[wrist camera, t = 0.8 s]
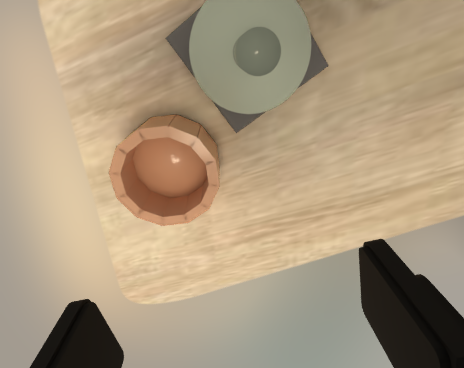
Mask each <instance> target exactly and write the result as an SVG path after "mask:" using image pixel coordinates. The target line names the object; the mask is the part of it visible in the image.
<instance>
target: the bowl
mask: <svg viewBox="0 0 464 368" xmlns="http://www.w3.org/2000/svg"><path fill="white" fill-rule="evenodd" d="M109 175H110V178H111V182H112V185H113V188H114V191H115V194H116V198H117V199H118V200H119V201H120V202H121V203H122V204H123V205H124V206H125V207H126V208H127V209H128V210H129V211H131V212H132V213H133V214H134V215H135V216H136V217H137V218H140V219H143V220H146V221H149V222H152V223H155V224H158V225H161V226H162V225H163V226H165V225H174V224H182V223H188V222H190V221H192V220H193V219H195V218H196V217H198V216H199V215H201V214H202V213H204V212H205V211H207V210H208V209H209V208H210V206H211V204H212V202H213V199H214V197H215V195H216V193H217V191H218V189H219V186H220V166H219V159H218V152H217V145H216V143H215V142H214V141H213V139H212V138H211V137H210V136H209V134H208V133H207V132H206V131H205V129H204V128H203V127H202V125H200V124H198V123H196V122H193V121H191V120H189V119H186V118H184V117H181V116H179V115H167V116H159V117H151V118H149V119H148V120H147V121H146V122H144V123H143V124H142V125H141V126H140V127H138V128H137V129H136V130H135V131H133V132H132V133H131V134H130V135H129V136H128V137H127V138H125V139H124V140H123V141H122V142H121V143H120V144H119V145H118V146H117V147H116V149H115V152H114V156H113V159H112V163H111V166H110V170H109Z"/></svg>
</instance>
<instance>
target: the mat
mask: <svg viewBox="0 0 464 368" xmlns="http://www.w3.org/2000/svg"><path fill="white" fill-rule="evenodd" d="M200 9H201V8H200ZM200 9H198V10H197V11H196V12H195V13H194V14H193V15H192V16H190V17H189V18H188V19H187V20H186V21H185V22H184V23H182V24H181V25H180V26H179V27H178V28H177V29H176V30H174V31H173V32H172V33H171V34H170V35H169V36H168V37H166V39H167V41H168V42H169V43H170V45H171V46H172V47H173V49H174V50H175V51H176V53H177V54H178V56H179V57H180V58H181V60H182V61H183V62H184V64H185V65H186V66H187V68H188V69H189V70H190V72H191V73H192V74H193V76H194V73H193V70H192V66H191V62H190V54H189V41H190V34H191V30H192V26H193V23H194V21H195V18H196V16H197V14H198V12H199V11H200ZM310 34H311V33H310ZM326 67H328V64H327V62H326V60H325V58H324V57H323V55H322V53H321V51H320V49H319V47H318V46H317V44H316V42H315V40H314V38H313V36H312V34H311V56H310V61H309V65H308V68H307V71H306V74H305V76H304V78H303V80H302V82H301V83H300V85H299V86H298V88H299V87H300V86H302V85H303V84H304V83H306V82H307V81H308V80H310V79H311V78H313V77H314V76H315V75H317V74H318V73H319V72H321V71H322V70H324V69H325V68H326ZM194 77H195V76H194ZM214 104H215V105H216V107H217V108H218V109H219V111H220V112H221V113H222V115H223V116H224V117H225V119H226V120H227V121H228V123H229V124H230V125H231V127H232V128H233V129H234V131H235V132H236V133H237V132H239V131H240V130H241V129H243V128H244V127H245V126H247V125H248V124H249V123H251V122H252V121H254V120H255V119H256V118H258V117H259V116H260V115H262V114H263V113H265V112H266V111H265V112H262V113H256V114H241V113H236V112H232V111H229V110H227V109H225V108H223V107H221V106H219V105H218V104H216V103H215V102H214Z"/></svg>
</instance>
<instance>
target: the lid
mask: <svg viewBox="0 0 464 368" xmlns="http://www.w3.org/2000/svg"><path fill="white" fill-rule="evenodd" d="M189 54H190V62H191V66H192V70H193V73H194V76H195V78H196V80H197V82H198V84H199V85H200V87H201V88H202V90H203V91H204V92H205V94H206V95H207V96H208V97H209V98H210V99H211V100H212V101H213V102H215V103H216V104H218V105H219V106H221V107H223V108H225V109H227V110H229V111H232V112H236V113H241V114H256V113H262V112H265V111H268V110H271V109H273V108H275V107H277V106H278V105H280V104H282V103H283V102H284V101H286V100H287V99H288V98H289V97H290V96H291V95H292V94H293V93H294V92H295V90H296V89H297V88H298V86H299V85H300V83H301V82H302V80H303V78H304V76H305V74H306V71H307V68H308V65H309V61H310V56H311V34H310V28H309V25H308V21H307V18H306V16H305V14H304V12H303V10H302V8H301V7H300V5H299V4H298V2H297V1H296V0H207V1H206V2H205V3H204V4H203V6H202V7H201V9H200V11H199V12H198V14H197V16H196V18H195V21H194V23H193V26H192V30H191V34H190V41H189Z"/></svg>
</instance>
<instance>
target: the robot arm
mask: <svg viewBox="0 0 464 368" xmlns="http://www.w3.org/2000/svg"><path fill="white" fill-rule="evenodd" d="M359 264H360V282H361V303H362V308H363V312H364V314H365V316H366V318H367V320H368V322H369V323H370V325H371V327H372V329H373V331H374V333H375V334H376V336H377V338H378V340H379V342H380V344H381V345H382V347H383V349H384V351H385V352H386V354H387V356H388V358H389V360H390V362H391V363H392V365H393V367H394V368H464V318H463V317H462V316H461V315H460V314H459V313H458V311H457V310H456V309H455V308H454V307H453V306H452V305H451V304H450V303H449V302H448V301H447V300H446V298H445V297H444V296H443V295H442V294H441V293H440V292H439V291H438V290H437V289H436V288H435V286H434V285H433V284H432V283H431V282H430V281H429V280H428V279H427V278H426V277H425V276H423V275H421V274H419V275H414V274H413V273H412V271H411V270H410V269H409V268H408V267H407V266H406V264H405V263H404V262H403V261H402V260H401V259H400V258H399V256H398V255H397V254H396V253H395V252H394V251H393V250H392V248H391V247H390V246H389V245H388V244H387V243H386V242H385V241H384V240H383V239H378V240H373V241H368V242H365V243H364V244H363V247H361V248H359ZM123 360H124V354H123V350H122V348H121V346H120V345H119V343H118V341H117V340H116V338H115V336H114V334H113V333H112V331H111V329H110V328H109V326H108V324H107V323H106V321H105V319H104V317H103V316H102V314H101V312H100V311H99V309H98V307H97V305H96V304H95V303H94V302H91V301H90V300H89V299H85V300H79V301H74V302H71V303H69V304H68V305H67V307H66V309H65V310H64V312H63V314H62V315H61V317H60V318H59V320H58V322H57V323H56V325H55V327H54V328H53V330H52V332H51V333H50V335H49V337H48V338H47V340H46V342H45V343H44V345H43V347H42V348H41V350H40V352H39V353H38V355H37V357H36V358H35V360H34V361H33V363H32V365H31V366H30V368H121V367H122V364H123Z"/></svg>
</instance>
